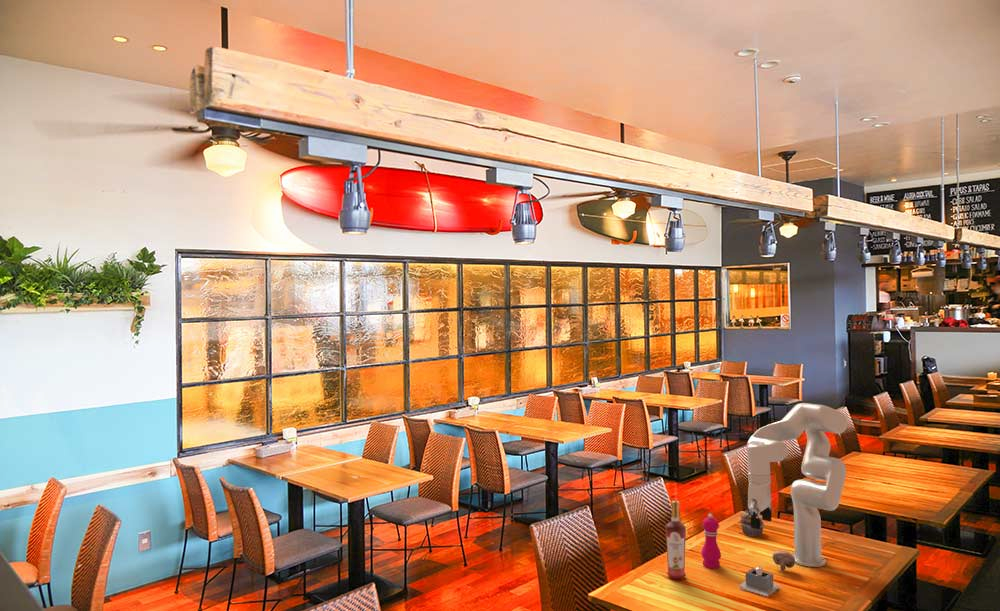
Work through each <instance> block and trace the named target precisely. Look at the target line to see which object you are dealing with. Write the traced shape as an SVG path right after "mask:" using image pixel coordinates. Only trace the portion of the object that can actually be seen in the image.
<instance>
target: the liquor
mask: <svg viewBox="0 0 1000 611" xmlns="http://www.w3.org/2000/svg"><path fill="white" fill-rule="evenodd" d="M670 504H671V509H672V510H671V521H669V522H668V523H666V524H665V541H666V542H665V543H666V554H667V571H666V575H667V576H668V577H669V578H670V579H671V578H672V580H675V581H679V580H682V579H684V578H685V577H686V576H687V573H686V572H685V570H686V569H685V567H686V566H685V562H686V557H685V556H686V534H687V533H686V530H687V529H686V528H687V527H686V525H684V524H683V523H682V522H680V513H679V509H680V501H678V500H671V503H670Z"/></svg>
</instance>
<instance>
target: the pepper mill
mask: <svg viewBox="0 0 1000 611" xmlns="http://www.w3.org/2000/svg"><path fill="white" fill-rule="evenodd" d="M702 527H703V529H704V530H703V534H704V535H705V536H704V537H705V540H704V543H703V546H702V548H701V557H702V558H703V559H702V566H704V567H705V568H707V569H710V570H711V569H714V570H715V569H716V570H717V569H719V568H720V566H721V563H720V559H721V557H722V552H721V549H720V547H719V545H718V542H717V536H718V530H719V527H720V525H719V522H718V520H717V519H716V518H714V516H713V514H712V513H709V514H708V515H707V517H705V518H704V519H703V521H702Z"/></svg>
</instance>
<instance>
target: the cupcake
mask: <svg viewBox="0 0 1000 611" xmlns="http://www.w3.org/2000/svg"><path fill="white" fill-rule="evenodd" d="M754 512H755V513H756V514H757V512H756V511H754ZM759 518H760V529H755V528H752V527H751V517H750V513H749V509H745V510H744V513H743V514H741V516H740V525H741V530H742V534H743V533H744V534H743V535H745V534H746V535H745V536H747V535H750V536H749V537H751V536H759V537H762V536H763V532H764V525H765V523H764V522H763V519H762V516H760V515H759ZM761 535H762V536H761Z"/></svg>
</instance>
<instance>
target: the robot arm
mask: <svg viewBox="0 0 1000 611" xmlns="http://www.w3.org/2000/svg"><path fill="white" fill-rule="evenodd" d="M847 428H848V418H847V416H846V414H844V412H842V411H840V410H837V409H834V408H832V407H830V406H827V405H824V404H815V403H808V402H800V403H797V404H795V405H794V406H793V407H792V408H791V409H790V410H789V411H788V412H787V413H786V415H784V417H783V418H782V419H781V420H779V421H776V422H772V423H769V424H767V425H765V426H762V427H760V428H759V429H757V430H756V431H755V432H754V433H753V434H752V435H751V436H750V437H749V439H748V440H747V443H746V452H747V453H746V454H747V455H746V456H747V458H746V459H747V475H748V476H747V477H748V478H747V479H748V480H747V481H748V489H747V508H748V509H747V510H748V511H749V513H750V517H751V527H752V528H755V529H760V518H759V516H760V514H761V519H762V521H766V522H772V492H771V483H772V481H771V480H772V479H771V463H775V462H782V461H784V460H785V459H786V458H787V457H788V454H789V449H788V446H787V445H786V444H785V441H786V442H787V441H792V440H796V439H798V438H799V437H801V435H802V434H803V433H804V432H805V435H806V439H807V440H806V446H805V451H804V454H803V457H802V458H803V459H802V462H801V466H800V467H801V468H800V469H801V473H802V474H803V475H804V476H805V477H808V478H810V479H815V480H819V481H823V482H826V483H822V482H818V481H814V480H810V479H809V480H808V479H804V478H803V479H801V478H800V479H799V478H798V479H797V480H796V479H795V480H794V481H793V482H792V484H791V486H790V497H791V500H792V506H793V524H794V525H793V532H794V533H793V536H794V538H793V540H794V543H793V544H794V547H793V548H794V552H793V553H791V554H792V555H793V557H794V558H795V564H797V565H800V566H804V567H809V568H819V567H824V566H826V564H827V560H826V558H824V557H823V556H822V550H823V547H822V529H821V528H822V524H821V523H822V520H821V519H822V518H821V514H820V512H819V510H818V509H820V510H825V511H829V512H830V511H835V510H836V509H837V508H838V507H839V505H840V503H841V502H840V501H841V499H842V494H843V490H844V487H845V486H844V485H845V481H846V477H847V468H846V464H845V463H844V461H843V460H841V459H840V458H837V457H834V456H833V457H832V456H830V451H831V447H832V446H831V442H830V440H829V437H828V436H827V435H826V433H832V434H842V433H844V432H845V431H846V430H847ZM754 511H756V512H757V514H756V513H755V512H754Z"/></svg>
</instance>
